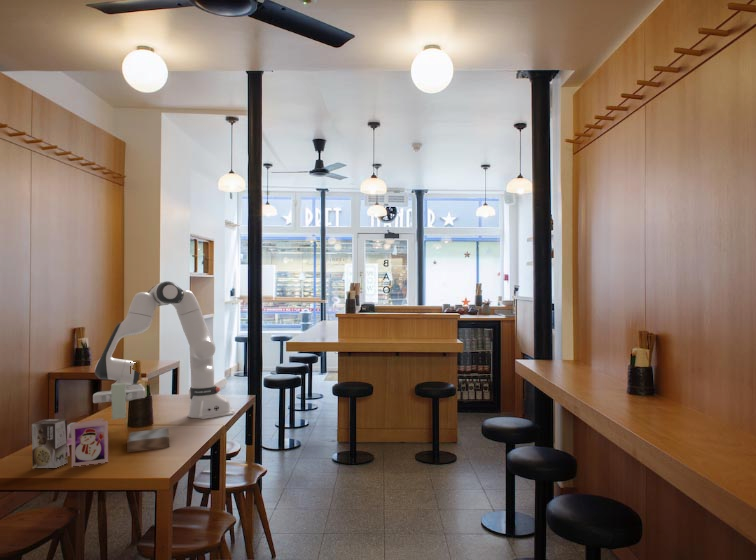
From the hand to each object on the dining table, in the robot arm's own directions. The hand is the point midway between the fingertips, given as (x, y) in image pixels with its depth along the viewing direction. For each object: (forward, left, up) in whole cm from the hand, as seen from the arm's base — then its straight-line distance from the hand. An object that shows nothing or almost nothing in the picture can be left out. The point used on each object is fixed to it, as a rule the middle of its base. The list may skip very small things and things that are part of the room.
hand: (118, 398), depth 213 cm
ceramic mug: (+18, -5, -18) cm, 25 cm away
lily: (+20, +12, -18) cm, 29 cm away
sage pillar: (0, -1, -8) cm, 8 cm away
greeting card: (+7, +27, -18) cm, 33 cm away
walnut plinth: (-12, +12, -17) cm, 24 cm away
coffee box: (+20, +25, -18) cm, 37 cm away
